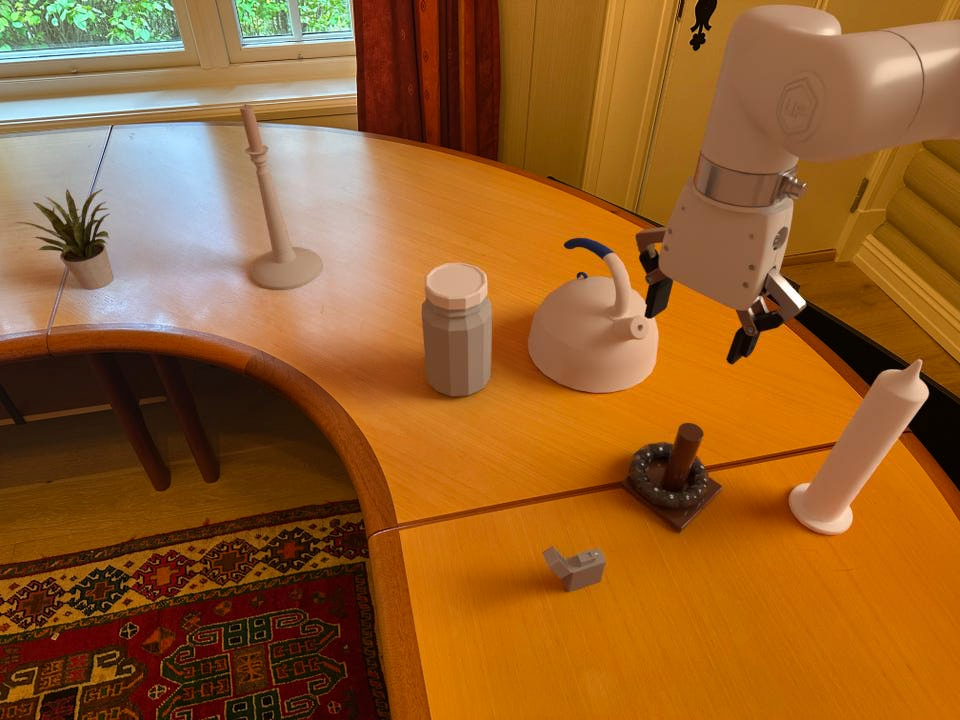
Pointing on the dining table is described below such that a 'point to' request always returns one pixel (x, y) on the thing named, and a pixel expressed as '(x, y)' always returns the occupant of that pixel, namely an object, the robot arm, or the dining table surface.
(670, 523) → the square plate with peg
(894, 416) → the candle
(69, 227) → the house plant
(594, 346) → the kettle
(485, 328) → the jar
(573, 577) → the lighter
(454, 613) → the dining table surface
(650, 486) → the studded rubber donut
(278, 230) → the candlestick
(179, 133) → the dining table surface
